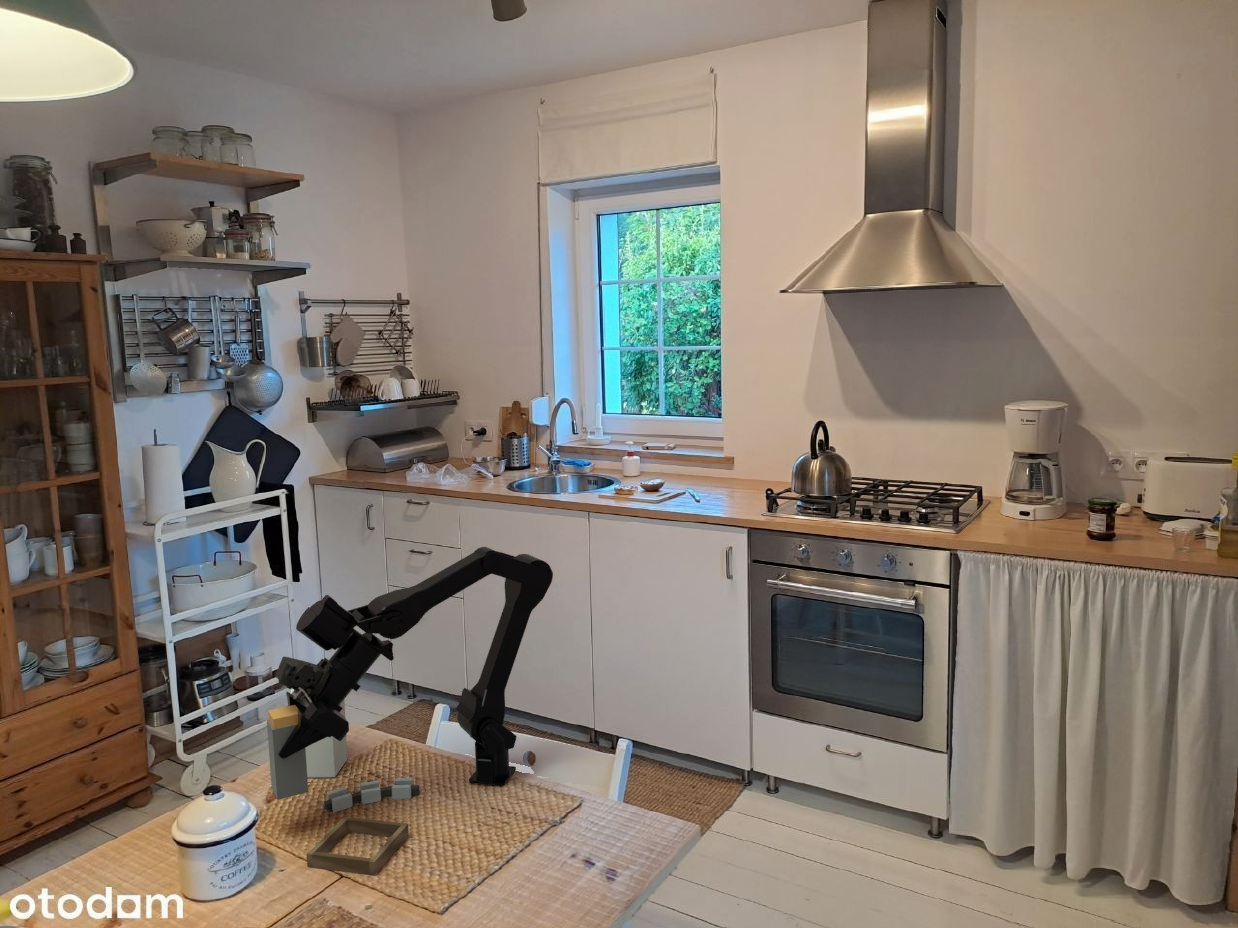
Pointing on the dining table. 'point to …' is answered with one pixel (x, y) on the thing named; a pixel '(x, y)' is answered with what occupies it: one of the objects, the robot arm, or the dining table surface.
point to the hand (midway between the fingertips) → (277, 750)
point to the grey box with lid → (293, 769)
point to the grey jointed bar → (370, 794)
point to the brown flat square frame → (352, 863)
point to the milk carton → (326, 754)
